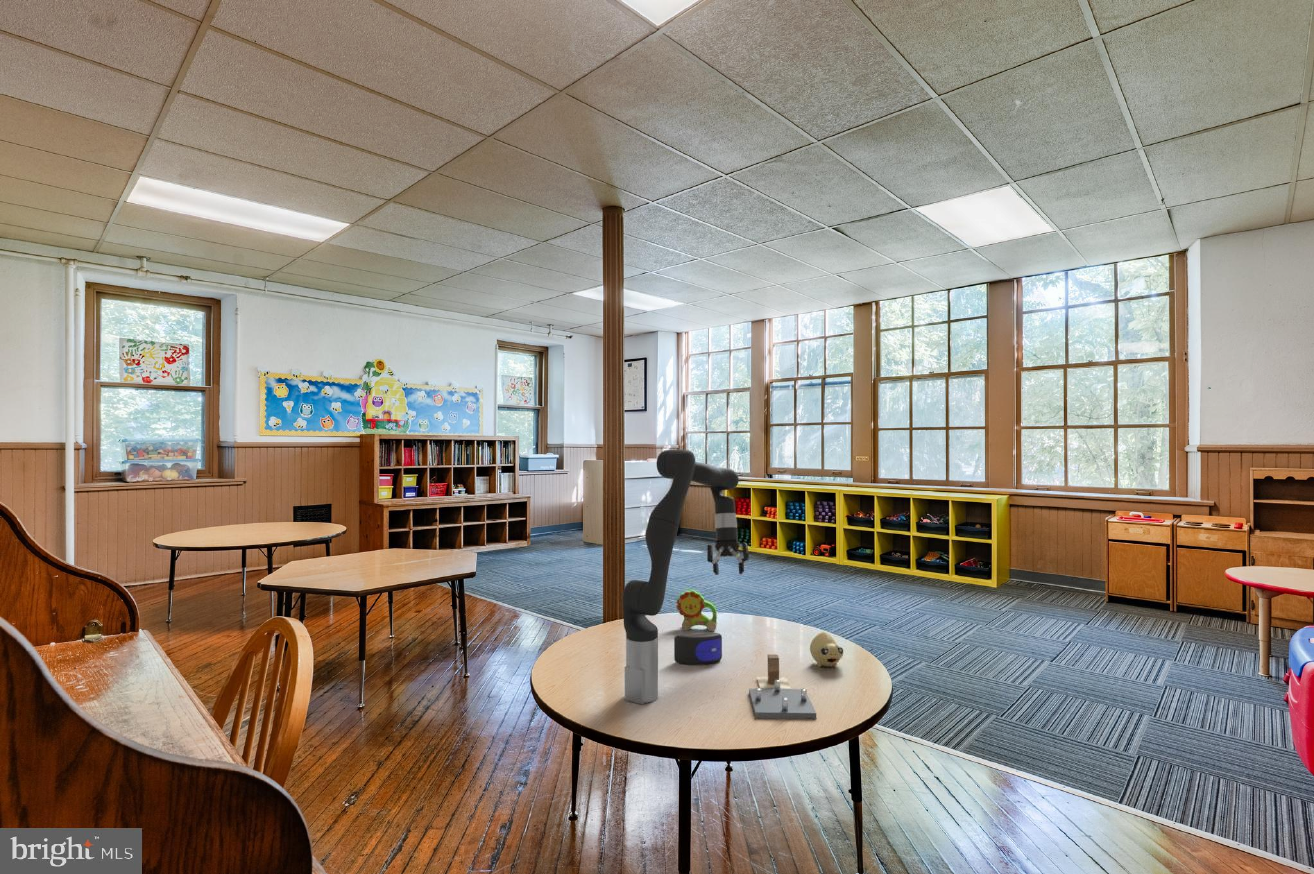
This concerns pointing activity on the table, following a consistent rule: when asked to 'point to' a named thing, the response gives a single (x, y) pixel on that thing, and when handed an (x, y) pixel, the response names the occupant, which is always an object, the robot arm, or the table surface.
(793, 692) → the base board
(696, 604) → the toy lion
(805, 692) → the standoff pins
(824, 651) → the yellow toy animal
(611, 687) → the table surface
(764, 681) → the handled board
